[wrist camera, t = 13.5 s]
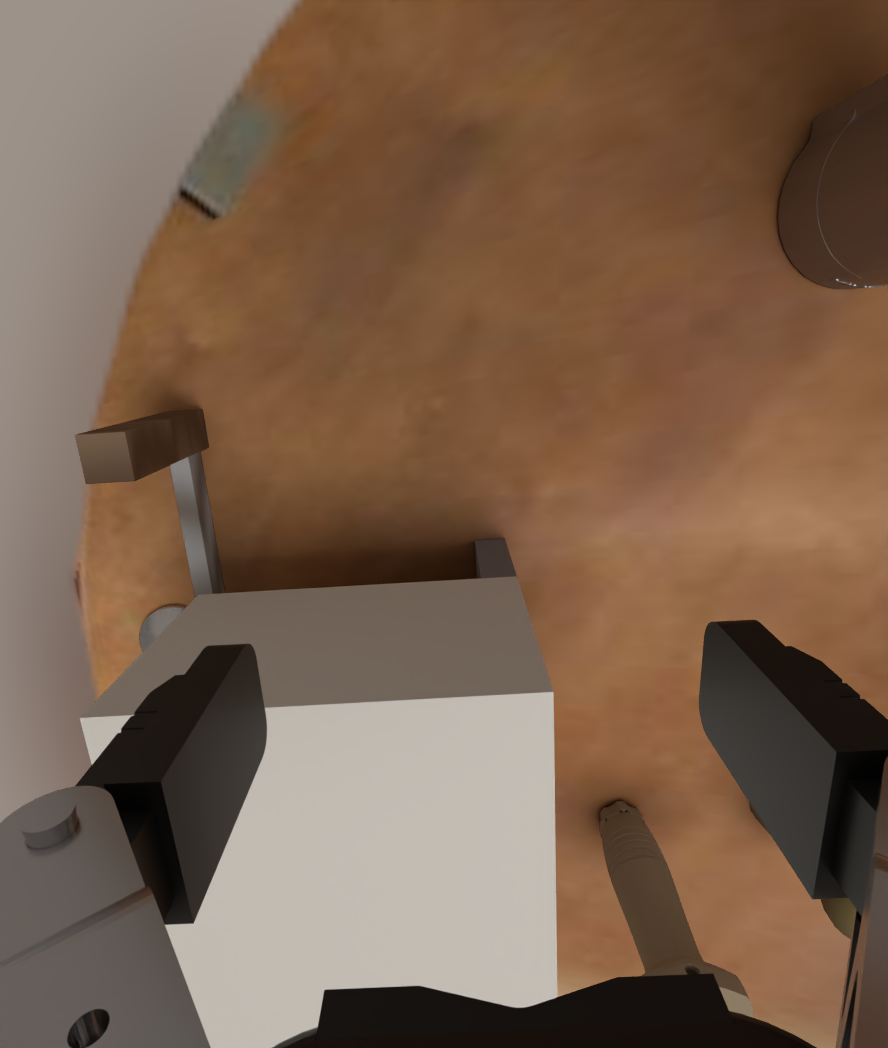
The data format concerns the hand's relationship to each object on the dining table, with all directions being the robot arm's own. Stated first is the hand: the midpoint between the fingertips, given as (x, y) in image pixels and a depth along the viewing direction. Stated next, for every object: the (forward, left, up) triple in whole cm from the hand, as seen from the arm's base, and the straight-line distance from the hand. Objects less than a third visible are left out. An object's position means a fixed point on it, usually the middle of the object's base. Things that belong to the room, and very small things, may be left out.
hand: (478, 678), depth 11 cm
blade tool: (+8, -17, -30) cm, 35 cm away
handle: (+30, +11, -30) cm, 44 cm away
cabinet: (+17, -6, -30) cm, 35 cm away
